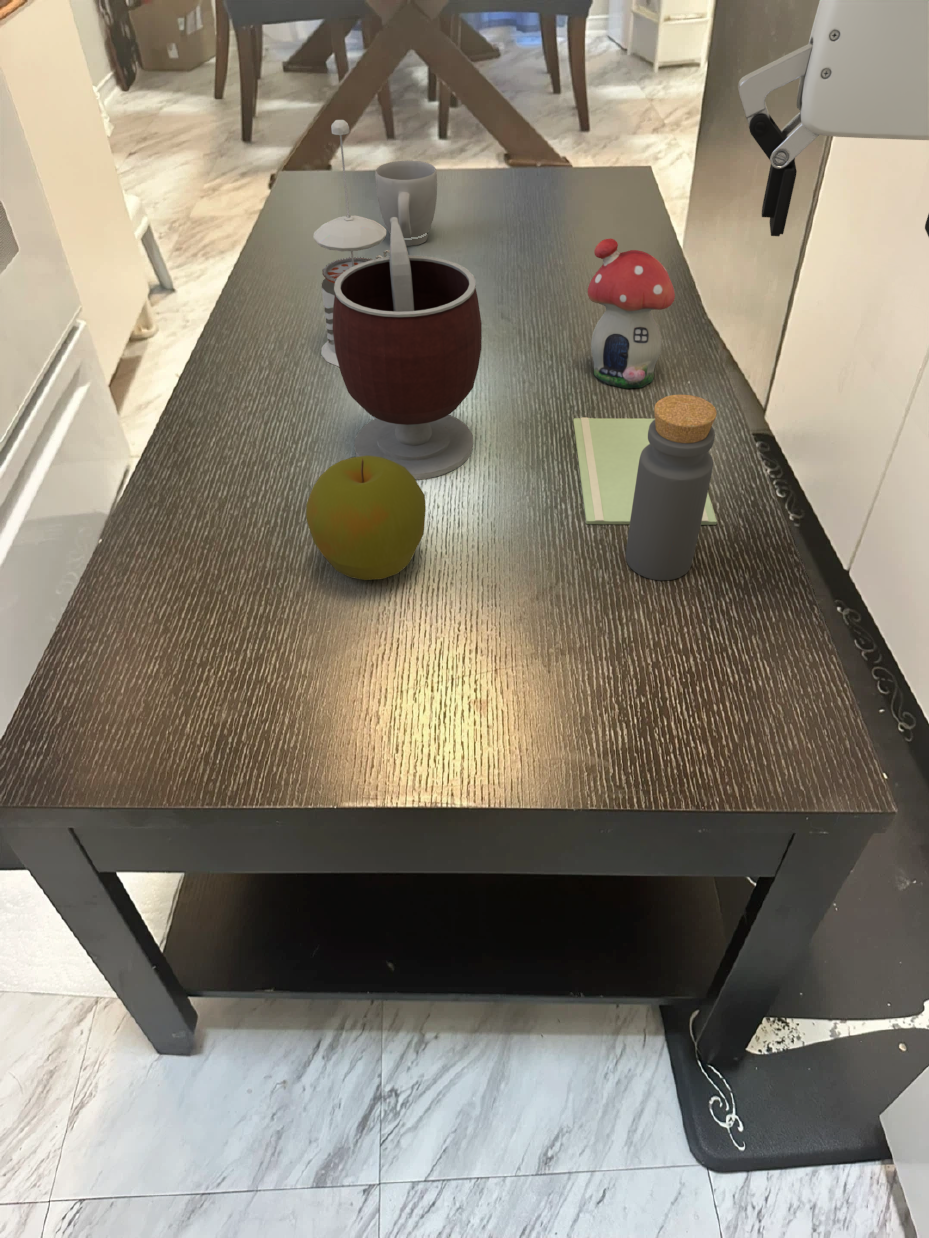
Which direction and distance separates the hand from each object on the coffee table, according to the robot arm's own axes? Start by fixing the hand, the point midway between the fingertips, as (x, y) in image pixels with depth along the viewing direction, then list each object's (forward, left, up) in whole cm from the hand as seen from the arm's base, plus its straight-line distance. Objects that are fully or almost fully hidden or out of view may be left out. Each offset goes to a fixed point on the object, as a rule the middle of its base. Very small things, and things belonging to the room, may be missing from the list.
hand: (853, 233), depth 57 cm
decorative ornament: (+33, -16, -29) cm, 46 cm away
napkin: (+18, -4, -29) cm, 34 cm away
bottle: (+7, +5, -29) cm, 30 cm away
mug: (+81, -19, -29) cm, 88 cm away
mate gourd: (+36, +11, -29) cm, 47 cm away
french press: (+56, +4, -29) cm, 63 cm away
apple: (+22, +25, -29) cm, 44 cm away
